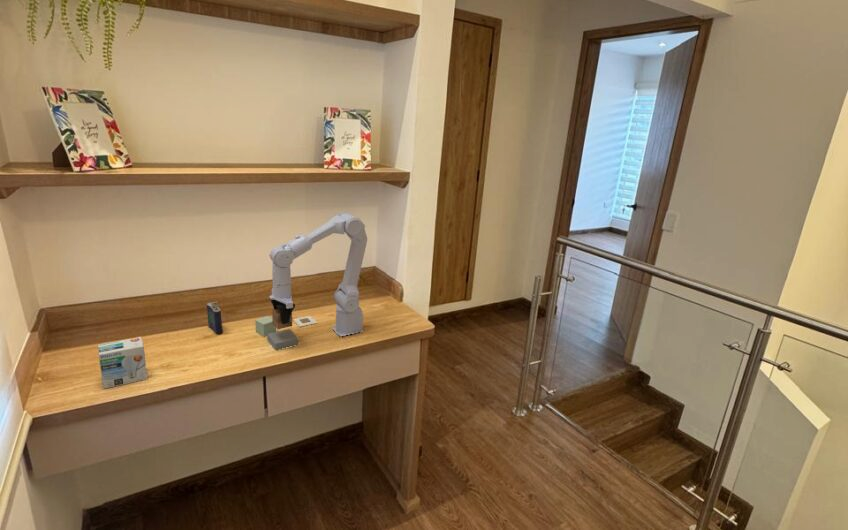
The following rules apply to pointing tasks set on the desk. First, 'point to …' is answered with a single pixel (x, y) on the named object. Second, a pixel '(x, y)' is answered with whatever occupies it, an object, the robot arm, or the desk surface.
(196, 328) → the desk surface
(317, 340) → the desk surface
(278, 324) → the walnut block
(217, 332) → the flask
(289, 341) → the slate slab
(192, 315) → the desk surface
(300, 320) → the placard
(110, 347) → the light bulb box
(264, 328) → the sage block
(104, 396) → the desk surface
